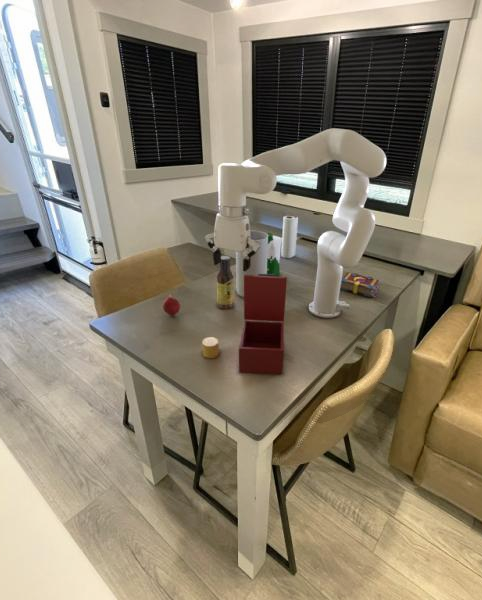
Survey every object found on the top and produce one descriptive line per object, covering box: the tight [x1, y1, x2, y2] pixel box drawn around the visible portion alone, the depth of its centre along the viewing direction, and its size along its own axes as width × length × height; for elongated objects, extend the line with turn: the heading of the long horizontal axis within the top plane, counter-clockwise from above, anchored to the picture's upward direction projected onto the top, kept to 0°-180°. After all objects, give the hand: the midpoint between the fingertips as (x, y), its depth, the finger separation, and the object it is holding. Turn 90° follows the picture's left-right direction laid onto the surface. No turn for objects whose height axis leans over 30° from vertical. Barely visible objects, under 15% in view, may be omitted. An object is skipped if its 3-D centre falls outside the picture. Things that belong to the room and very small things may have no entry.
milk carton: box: [265, 232, 282, 277], centre depth 152 cm, size 9×9×20 cm
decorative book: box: [340, 271, 380, 299], centre depth 148 cm, size 11×16×5 cm
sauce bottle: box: [216, 255, 235, 309], centre depth 124 cm, size 6×6×20 cm
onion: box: [162, 294, 181, 316], centre depth 119 cm, size 6×6×8 cm
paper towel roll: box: [280, 215, 299, 259], centre depth 173 cm, size 7×6×21 cm
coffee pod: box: [201, 336, 220, 359], centre depth 102 cm, size 5×5×4 cm
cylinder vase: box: [235, 229, 268, 298], centre depth 134 cm, size 12×12×25 cm
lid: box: [243, 274, 288, 322], centre depth 103 cm, size 16×13×6 cm
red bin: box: [238, 319, 285, 375], centre depth 101 cm, size 15×13×9 cm
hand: (231, 266), depth 101 cm, fingers open, 9 cm apart
